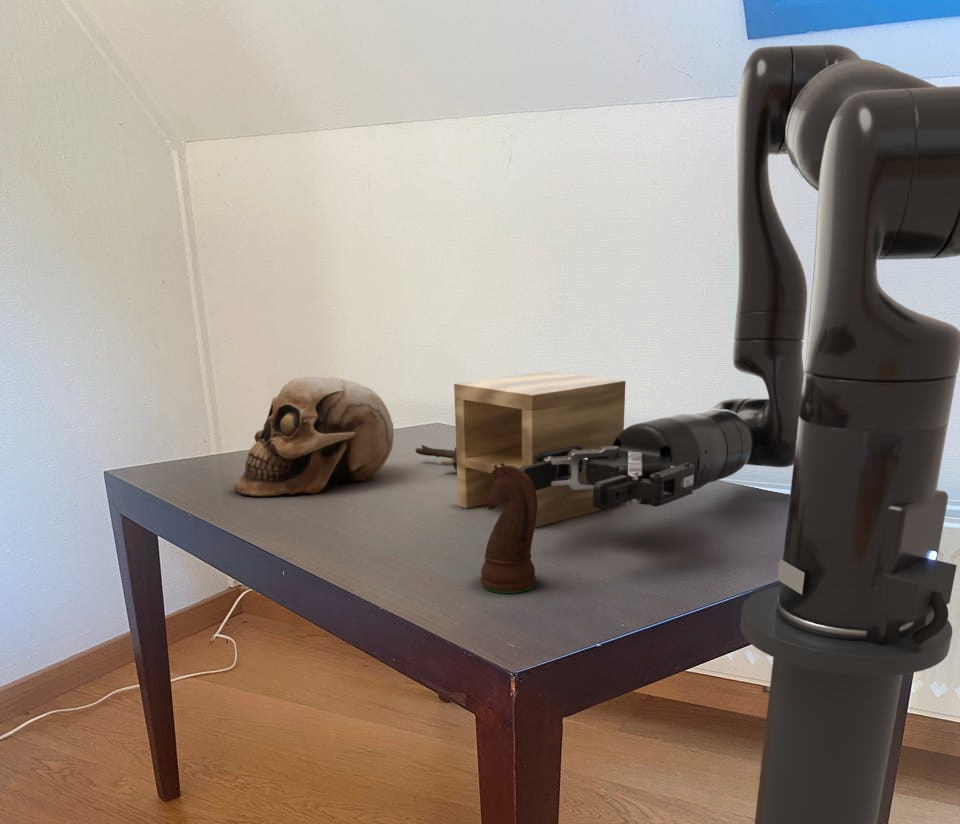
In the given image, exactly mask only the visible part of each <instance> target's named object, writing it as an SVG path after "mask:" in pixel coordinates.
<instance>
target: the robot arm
mask: <svg viewBox="0 0 960 824" xmlns="http://www.w3.org/2000/svg"><path fill="white" fill-rule="evenodd" d="M735 112H736V113H735V131H734V132H735V133H734V134H735V135H734V137H735V140H734V141H735V143H734V144H735V150H734V151H735V212H736V236H737V237H736V239H737V241H736V242H737V288H736V303H735V316H734V329H733V338H732V339H733V342H732V352H731V353H732V354H731V359H732V360H731V361H732V365H733V367H734V369H735V370H736V371H738V372H741V373H742V374H747V375H750V376H754V377H758V378H759V379H761V380H762V381H763V383H764V386H765V389H766V391H767V396H768V398H765V397H764V398H763V397H733V398H728V399H723V400H720V401H718V402H716V403H715V404H713V405H712V406H710V407H709V408H707V409H706V410H702V411H698V412H694V413H681V414H679V413H678V414H674V415H669V416H665V417H661V418H656V419H652V420H647V421H643V422H639V423H634V424H632V425H630V426H627V427H626V428H624V430H623V431H622V432H621V433H620V434H619V436H618V437H617V438H616V440H615V442H614V443H613V445H612V446H601V447H600V448H598V449H591V450H582V446H579V445H574V446H570V447H565V448H560V449H556V450H551V451H546V452H539V453H537V454H534V464H532V465H528V466H524V467H520V468H519V469H521V470H522V471H524V472H525V473H526V474H527V475H528V476H529V477H530V479H531V481H532V483H533V485H534V487H535V491H536V490H540V489H543V488H547V487H552V486H564V485H568V486H569V487H570V488H571V489H572V490H590V489H593V507H594V508H596V509H600V510H599V511H603V510H607V509H610V508H614V507H617V505H618V506H621V505H622V504H626V503H627V504H630V505H637V504H639V505H642V506H643V505H644V506H652V507H654V508H656V507H659V506H660V507H661V506H664V505H667V504H669V503H672V502H674V501H676V500H679V499H682V498H684V497H687V496H689V495H692V494H693V492H694V491H696V490H699V489H700V488H702V487H704V486H706V485H707V484H710V483H713V482H716V481H719V480H723V479H725V478H728V477H730V476H732V475H734V474H736V473H737V472H739V471H740V470H742V469H743V468H744V466H758V467H767V468H768V467H770V468H788V467H792V466H793V467H792V476H791V485H790V486H791V487H790V494H789V501H788V503H789V504H788V509H787V511H788V512H787V520H786V530H785V537H784V546H783V557H782V558H779V561H778V570H777V581H779V586H780V593H779V596H778V598H777V606H776V612H777V615H778V616H779V617H780V618H781V619H782V620H783V621H784V622H786V623H787V624H789V625H791V626H793V627H795V628H797V629H799V630H802V631H805V632H808V633H811V634H815V635H819V636H823V637H828V638H834V639H841V640H853V641H865V642H869V643H873V644H876V645H885V644H887V643H889V642H891V641H893V640H895V639H897V638H899V637H901V636H903V635H905V634H907V633H909V632H910V631H912V630H914V629H916V628H918V627H920V626H922V625H923V624H925V623H926V618H927V615H928V614H929V613H931V612H933V611H934V618H933V620H932V621H931V622H930V623H929V624H928V625H927V626H925V627H923V628H921V629H920V630H918V631H916V632H915V633H914V634H912V639H913V640H914V641H915V642H916V643H918V644H922V643H923V642H924V641H926V640H928V639H929V638H931V637H933V636H935V635H936V634H938V633H939V632H940V631H941V630H942V629H943V628H944V627H945V625H946V623H947V620H948V619H949V609H948V605H949V604H950V603H951V597H952V592H953V586H954V583H955V582H954V581H955V576H956V573H957V567H958V565H957V564H955V563H954V564H953V563H950V562H945V561H941V560H938V557H939V556H938V555H939V552H940V551H939V550H940V545H941V541H942V540H941V539H942V535H943V530H944V529H943V528H944V524H945V518H946V512H947V508H948V507H947V506H948V502H949V494H948V493H947V492H946V491H944V490H940V489H938V484H939V478H940V472H941V466H942V460H943V456H944V455H943V454H944V451H945V450H944V449H945V444H946V443H945V442H946V437H947V432H948V425H949V421H950V415H951V409H952V403H953V399H954V398H953V397H954V393H955V386H956V381H957V374H958V373H959V369H960V368H959V366H960V330H959V328H957V327H955V325H953V324H950V323H948V322H946V321H943V320H940V319H937V318H934V317H930V316H929V315H925V314H923V313H919V312H916V311H915V310H913V309H911V308H908V307H906V306H904V305H903V304H901V303H900V302H898V301H896V300H895V298H893V297H891V296H890V295H889V294H888V293H886V292H885V291H884V290H883V289H882V287H881V284H880V283H879V279H878V267H877V266H878V265H877V261H891V260H892V261H893V260H894V261H895V260H896V261H898V260H928V259H932V260H934V259H947V258H954V257H959V256H960V85H959V86H958V85H957V86H937V85H934V84H932V83H930V82H928V81H926V80H925V79H921V78H919V77H917V76H914V75H911V74H909V73H906V72H903V71H901V70H898V69H896V68H895V67H892V66H890V65H887V64H884V63H881V62H877V61H874V60H869V59H862V58H861V57H860V56H859V55H858V53H857V52H856V51H854V50H852V49H851V48H849V47H846V46H843V45H838V44H807V45H805V44H804V45H782V46H781V45H778V46H777V45H776V46H773V45H772V46H763V47H759V48H757V49H755V50H754V51H753V52H751V54H750V55H749V57H748V59H747V61H746V62H745V65H744V68H743V70H742V74H741V78H740V82H739V86H738V91H737V102H736V111H735ZM770 156H788V159H789V161H790V163H791V165H792V167H793V169H794V170H795V172H796V173H797V174H798V176H800V178H801V179H802V180H804V182H805V183H807V184H808V186H810V187H811V188H812V189H814V190H815V191H816V192H817V205H816V225H815V242H814V243H815V246H814V261H813V276H812V287H811V298H810V299H811V300H810V307H809V308H810V309H809V316H808V317H809V318H808V328H807V329H808V330H807V343H806V344H807V345H806V353H805V362H803V361H804V360H803V350H804V349H803V347H804V339H805V330H806V321H807V311H808V301H809V299H808V298H809V297H808V294H809V291H808V282H807V276H806V273H805V269H804V266H803V263H802V261H801V259H800V258H801V257H800V256H799V254H798V252H797V250H796V248H795V246H794V244H793V241H792V239H791V238H790V235H789V234H788V232H787V230H786V228H785V225H784V223H783V221H782V219H781V217H780V214H779V212H778V209H777V207H776V204H775V201H774V197H773V194H772V188H771V184H770V174H769V173H770V172H769V171H770V170H769V158H770ZM582 468H586V480H587V481H579V473H582ZM565 476H567V477H565ZM561 477H564V478H561ZM620 504H621V505H620ZM948 621H949V620H948Z"/></svg>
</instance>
